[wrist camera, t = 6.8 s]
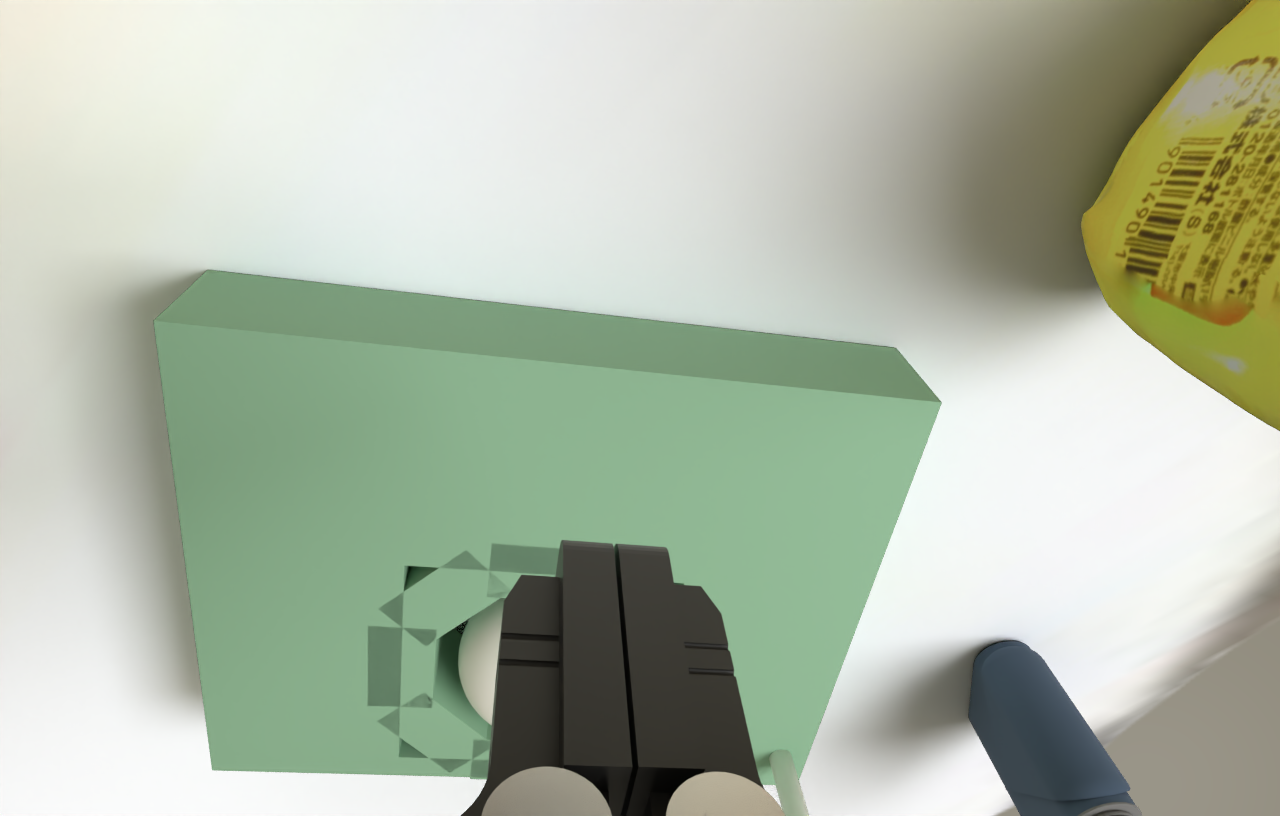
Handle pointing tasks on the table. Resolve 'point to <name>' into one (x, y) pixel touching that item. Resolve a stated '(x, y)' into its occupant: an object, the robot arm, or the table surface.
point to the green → (505, 503)
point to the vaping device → (1041, 739)
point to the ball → (481, 658)
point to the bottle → (1204, 218)
